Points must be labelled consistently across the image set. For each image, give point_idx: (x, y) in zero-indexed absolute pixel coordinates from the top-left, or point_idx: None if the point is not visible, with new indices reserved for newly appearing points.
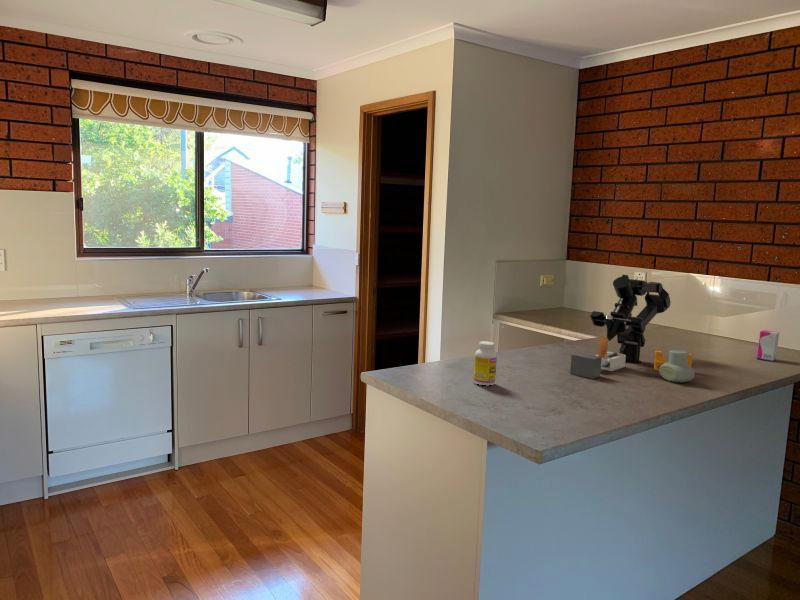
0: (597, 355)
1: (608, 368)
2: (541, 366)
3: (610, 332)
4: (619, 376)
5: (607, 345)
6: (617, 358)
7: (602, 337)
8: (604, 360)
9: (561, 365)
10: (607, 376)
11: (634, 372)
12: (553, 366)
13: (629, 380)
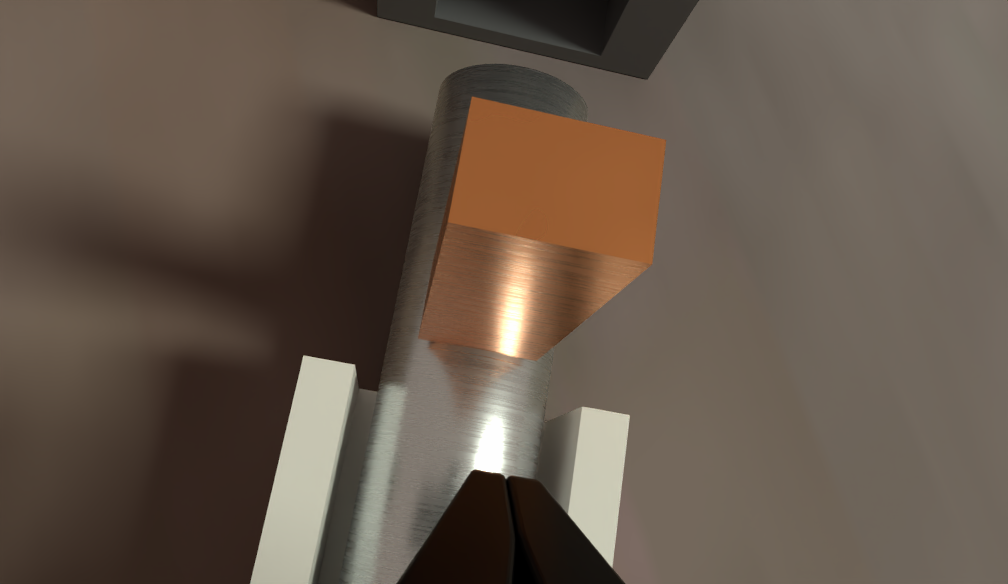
0: (594, 424)
1: (371, 393)
2: (1004, 41)
3: (501, 581)
4: (168, 161)
5: (433, 282)
6: (261, 550)
7: (596, 161)
8: (416, 241)
9: (897, 235)
10: (300, 64)
11: (4, 570)
12: (929, 125)
13: (17, 41)
